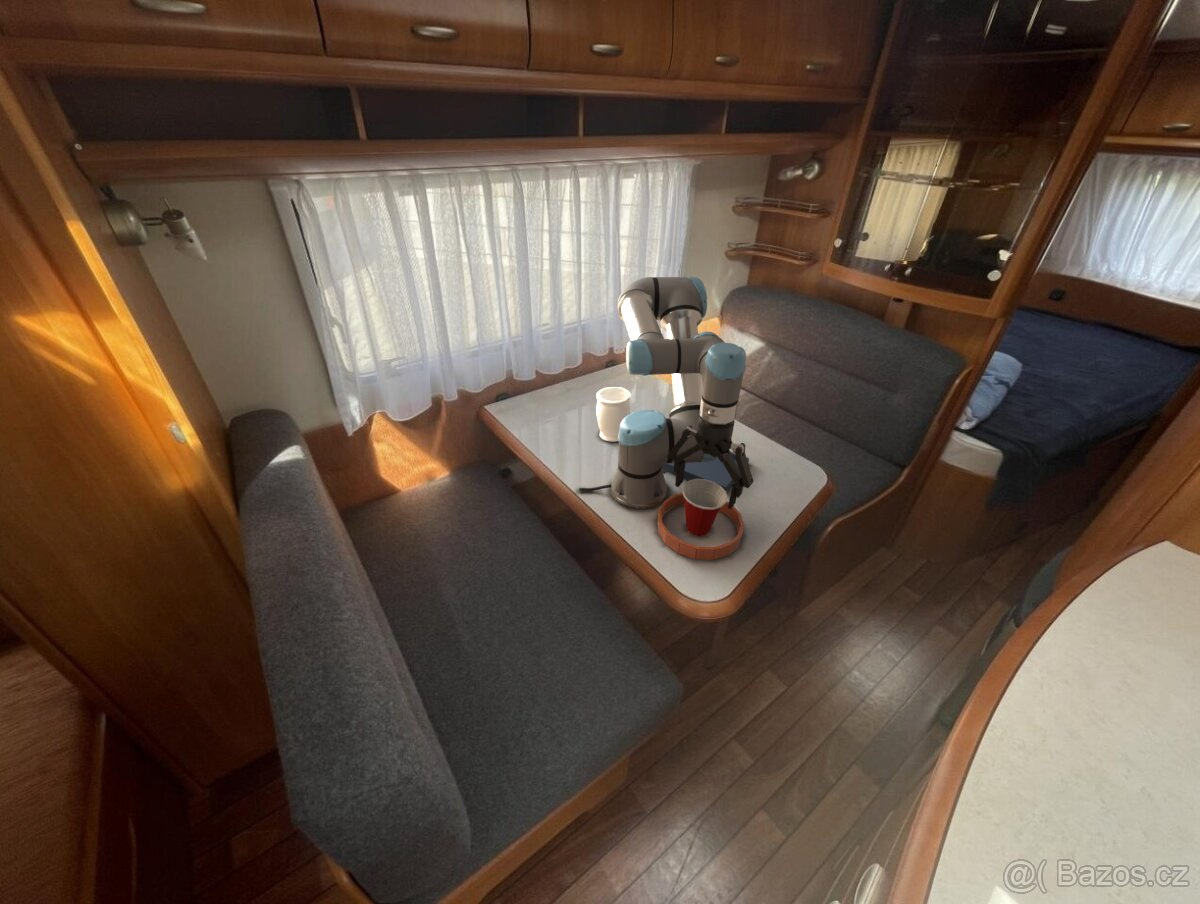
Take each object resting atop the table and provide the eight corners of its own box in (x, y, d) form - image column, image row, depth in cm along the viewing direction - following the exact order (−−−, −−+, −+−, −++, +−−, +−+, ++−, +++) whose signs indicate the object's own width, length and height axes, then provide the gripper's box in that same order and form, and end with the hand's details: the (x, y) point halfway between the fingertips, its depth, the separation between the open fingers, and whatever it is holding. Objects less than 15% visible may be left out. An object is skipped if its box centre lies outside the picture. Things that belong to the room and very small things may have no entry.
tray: (656, 466, 141) (656, 459, 140) (682, 441, 152) (683, 434, 151) (724, 494, 131) (725, 487, 129) (747, 465, 142) (749, 458, 140)
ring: (659, 557, 112) (660, 547, 110) (656, 500, 129) (656, 490, 127) (748, 561, 111) (751, 550, 109) (733, 502, 128) (735, 492, 126)
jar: (614, 423, 161) (615, 383, 153) (635, 436, 155) (637, 395, 146) (590, 434, 156) (589, 393, 147) (610, 447, 149) (611, 406, 141)
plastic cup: (721, 547, 115) (728, 509, 108) (675, 540, 117) (680, 503, 110) (720, 516, 124) (727, 480, 117) (678, 511, 125) (683, 475, 118)
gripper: (656, 407, 105) (651, 483, 117) (768, 444, 93) (749, 524, 105) (673, 394, 110) (666, 468, 122) (781, 427, 98) (761, 506, 110)
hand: (704, 494), depth 113 cm, fingers open, 13 cm apart
